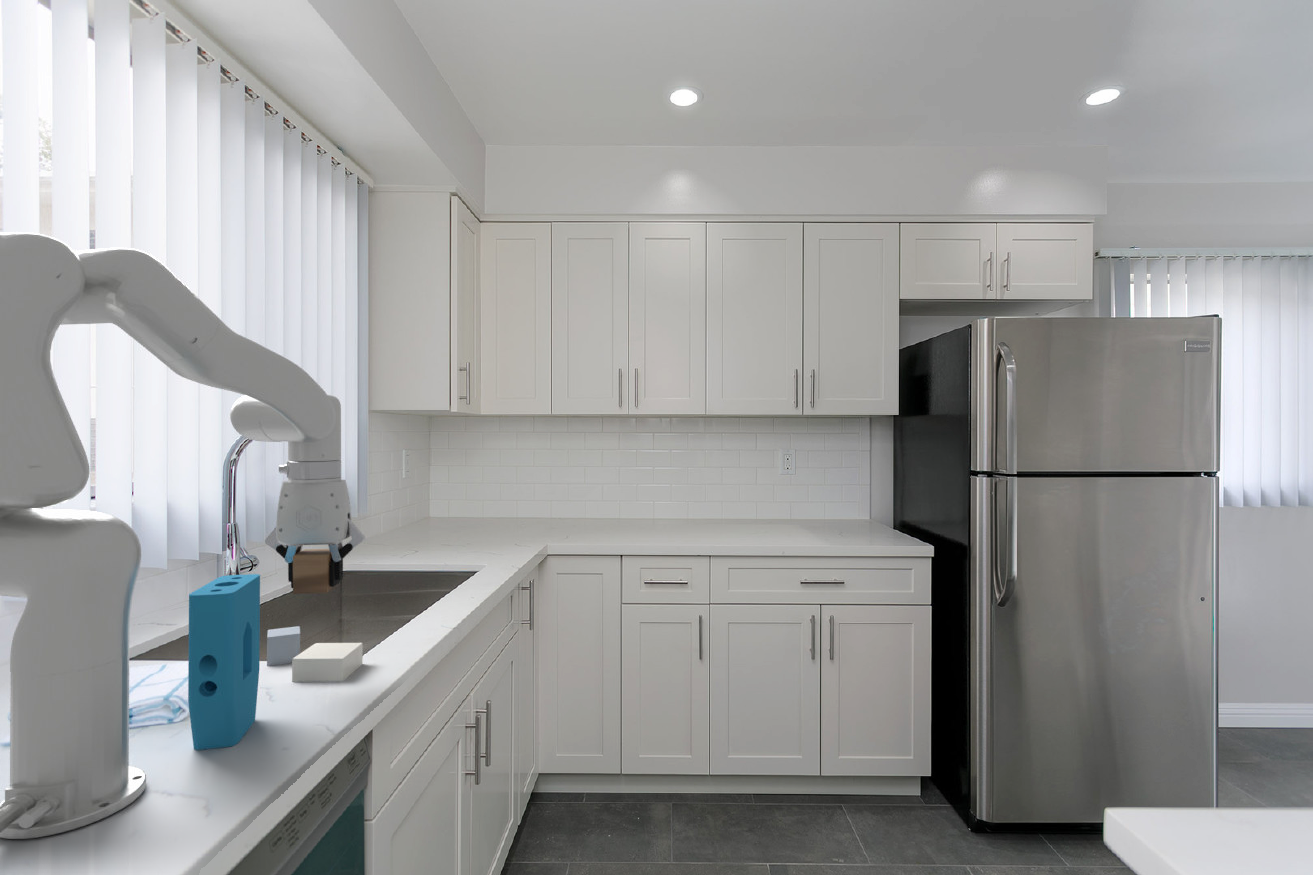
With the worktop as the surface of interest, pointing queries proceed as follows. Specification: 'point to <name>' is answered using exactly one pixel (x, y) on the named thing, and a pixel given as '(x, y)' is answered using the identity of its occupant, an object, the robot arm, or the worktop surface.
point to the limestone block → (327, 662)
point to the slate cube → (282, 645)
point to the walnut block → (311, 571)
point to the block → (223, 660)
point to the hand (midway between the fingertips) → (316, 584)
